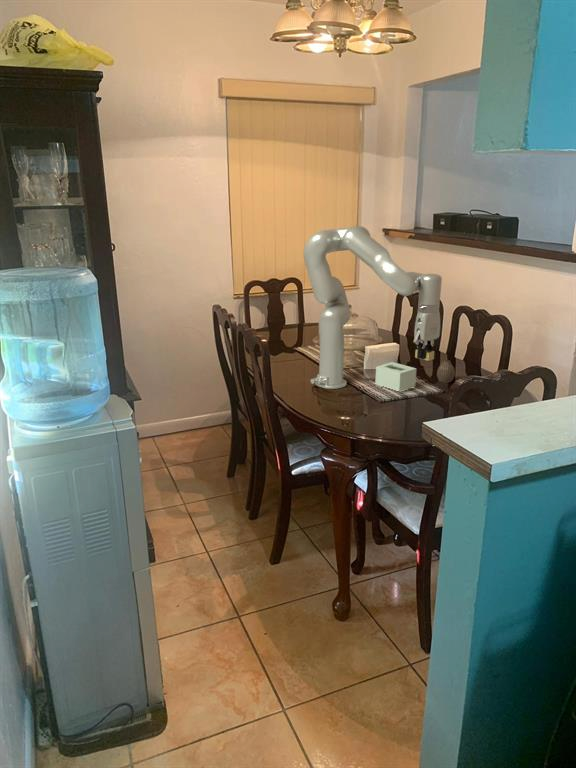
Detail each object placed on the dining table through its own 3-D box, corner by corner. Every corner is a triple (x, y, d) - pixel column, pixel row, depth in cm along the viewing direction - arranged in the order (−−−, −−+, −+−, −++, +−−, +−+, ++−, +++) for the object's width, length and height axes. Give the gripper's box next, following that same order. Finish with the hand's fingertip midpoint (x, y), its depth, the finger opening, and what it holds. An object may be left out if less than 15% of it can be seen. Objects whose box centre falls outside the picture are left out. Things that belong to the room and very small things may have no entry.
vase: (454, 384, 228) (456, 363, 225) (436, 383, 229) (438, 362, 226) (453, 379, 234) (455, 359, 232) (436, 378, 236) (437, 358, 233)
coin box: (399, 393, 218) (400, 373, 215) (375, 385, 226) (376, 366, 224) (415, 387, 224) (416, 368, 222) (391, 380, 233) (392, 362, 230)
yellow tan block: (428, 360, 208) (428, 352, 207) (415, 357, 212) (415, 349, 212) (433, 359, 210) (434, 351, 209) (420, 355, 215) (421, 348, 214)
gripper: (423, 313, 198) (419, 363, 203) (450, 307, 208) (445, 355, 214) (405, 309, 203) (402, 359, 209) (433, 304, 213) (429, 351, 219)
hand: (424, 356), depth 211 cm, fingers closed on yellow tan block, 3 cm apart
